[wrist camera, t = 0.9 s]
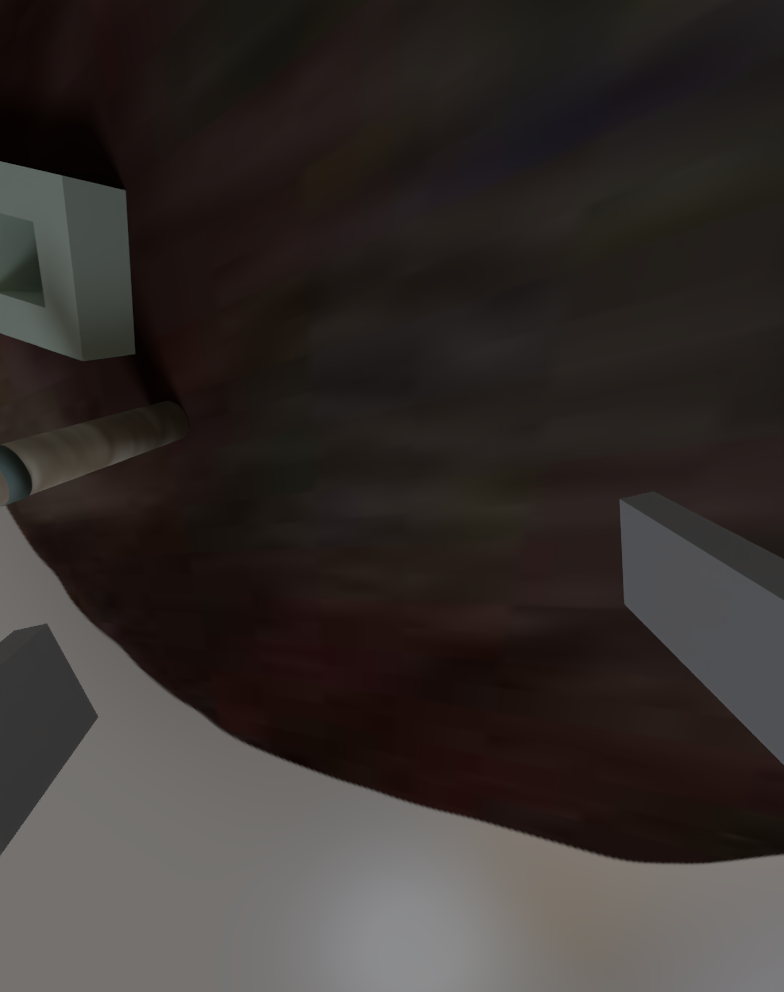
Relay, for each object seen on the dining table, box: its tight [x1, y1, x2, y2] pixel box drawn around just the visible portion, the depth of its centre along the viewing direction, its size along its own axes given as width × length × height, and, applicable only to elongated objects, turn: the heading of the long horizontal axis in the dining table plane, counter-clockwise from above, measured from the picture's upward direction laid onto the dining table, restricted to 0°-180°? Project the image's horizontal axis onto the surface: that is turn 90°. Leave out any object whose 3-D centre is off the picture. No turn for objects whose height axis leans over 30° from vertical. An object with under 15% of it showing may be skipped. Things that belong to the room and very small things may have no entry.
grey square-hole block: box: [0, 161, 135, 361], centre depth 33 cm, size 11×11×4 cm
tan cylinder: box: [0, 401, 189, 506], centre depth 31 cm, size 3×3×15 cm
